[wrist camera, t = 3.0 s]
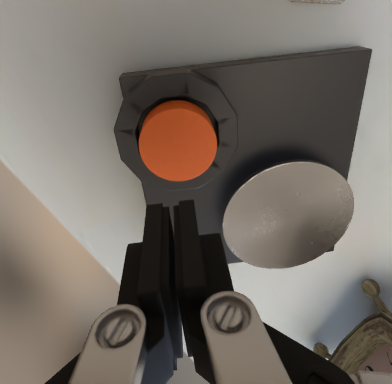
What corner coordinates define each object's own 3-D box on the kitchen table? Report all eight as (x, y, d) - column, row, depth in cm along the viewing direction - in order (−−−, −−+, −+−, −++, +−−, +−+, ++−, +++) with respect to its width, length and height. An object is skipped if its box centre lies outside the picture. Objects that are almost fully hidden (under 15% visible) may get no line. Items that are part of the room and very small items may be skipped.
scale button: (134, 104, 17) (131, 113, 16) (211, 95, 17) (214, 103, 16) (148, 172, 20) (146, 185, 18) (215, 164, 20) (219, 177, 18)
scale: (111, 71, 19) (101, 82, 16) (360, 43, 19) (389, 49, 16) (154, 261, 27) (152, 287, 25) (326, 240, 27) (342, 264, 25)
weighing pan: (218, 167, 19) (218, 170, 19) (363, 151, 20) (366, 153, 19) (224, 272, 24) (225, 275, 24) (340, 258, 24) (342, 261, 24)
